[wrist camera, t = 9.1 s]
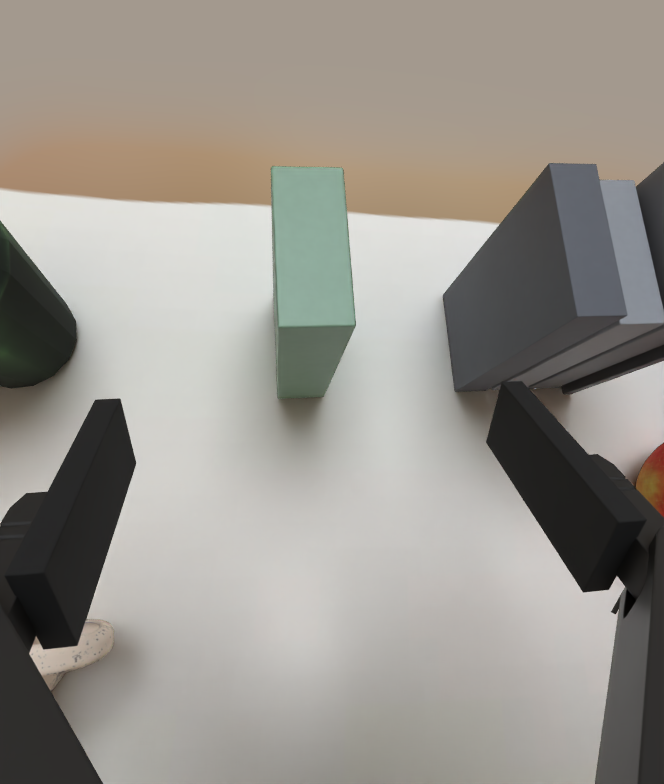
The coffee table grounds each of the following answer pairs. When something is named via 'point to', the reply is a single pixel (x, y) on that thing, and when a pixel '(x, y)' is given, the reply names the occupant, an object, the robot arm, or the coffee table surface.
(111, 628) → the teacup with lid
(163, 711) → the coffee table surface
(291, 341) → the green book
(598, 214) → the grey books
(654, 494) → the apple
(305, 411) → the coffee table surface
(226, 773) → the coffee table surface
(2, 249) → the potion bottle
